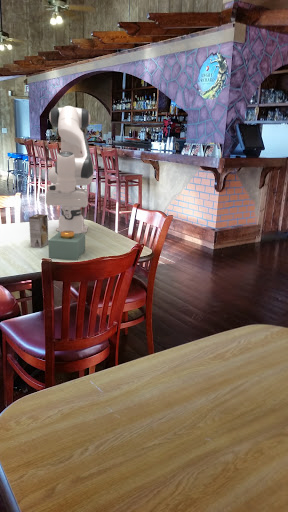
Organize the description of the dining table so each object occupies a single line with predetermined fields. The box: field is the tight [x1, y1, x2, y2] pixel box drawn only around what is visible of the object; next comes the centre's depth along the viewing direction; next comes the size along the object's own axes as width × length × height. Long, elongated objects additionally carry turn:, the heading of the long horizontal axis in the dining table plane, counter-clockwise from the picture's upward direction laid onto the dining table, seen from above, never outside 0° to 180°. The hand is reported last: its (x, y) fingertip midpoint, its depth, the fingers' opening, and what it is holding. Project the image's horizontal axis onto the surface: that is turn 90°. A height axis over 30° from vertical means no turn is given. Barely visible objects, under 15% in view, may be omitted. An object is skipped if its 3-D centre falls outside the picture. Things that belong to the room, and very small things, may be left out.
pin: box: [61, 231, 74, 239], centre depth 208 cm, size 7×7×10 cm
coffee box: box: [28, 213, 49, 249], centre depth 221 cm, size 9×6×16 cm
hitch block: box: [48, 231, 86, 261], centre depth 209 cm, size 16×14×9 cm
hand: (67, 214), depth 204 cm, fingers closed
